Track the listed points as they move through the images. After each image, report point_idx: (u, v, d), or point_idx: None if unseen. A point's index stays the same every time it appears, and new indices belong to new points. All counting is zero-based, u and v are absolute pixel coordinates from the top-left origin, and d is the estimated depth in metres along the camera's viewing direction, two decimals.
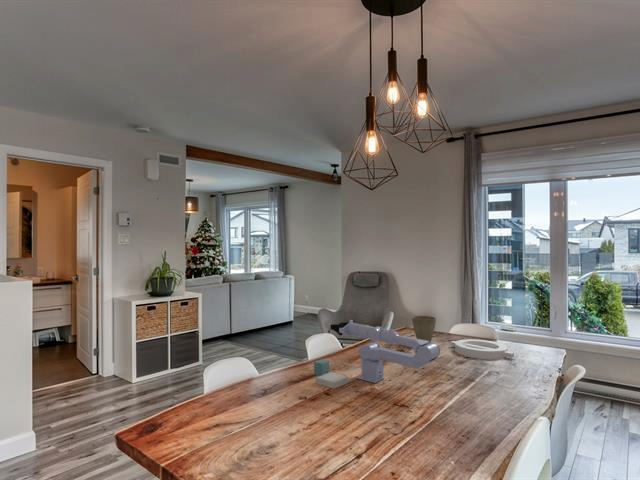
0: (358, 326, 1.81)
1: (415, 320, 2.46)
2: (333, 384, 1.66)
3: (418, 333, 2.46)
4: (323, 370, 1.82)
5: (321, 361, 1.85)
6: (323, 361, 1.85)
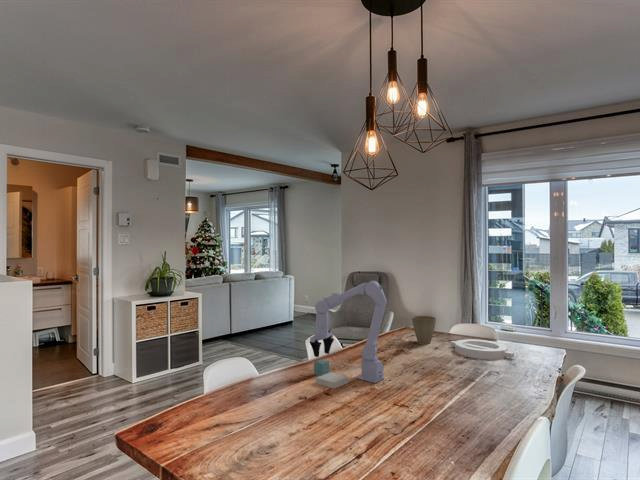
0: (316, 324, 1.83)
1: (415, 320, 2.46)
2: (333, 384, 1.66)
3: (418, 333, 2.46)
4: (323, 370, 1.82)
5: (321, 361, 1.85)
6: (323, 361, 1.85)
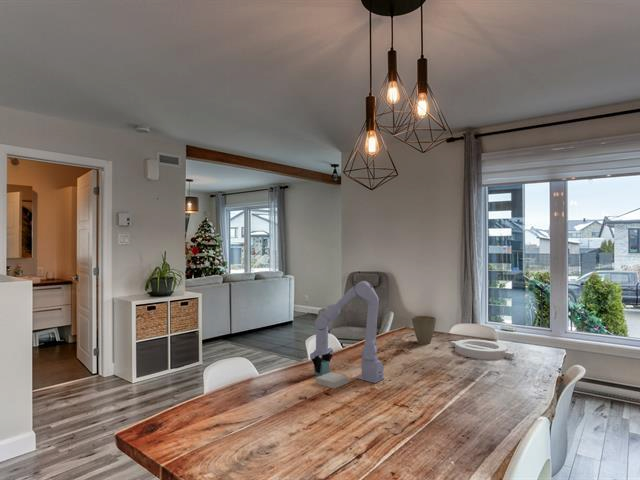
0: (316, 340, 1.83)
1: (415, 320, 2.46)
2: (333, 384, 1.66)
3: (418, 333, 2.46)
4: (323, 369, 1.82)
5: None
6: (323, 361, 1.85)
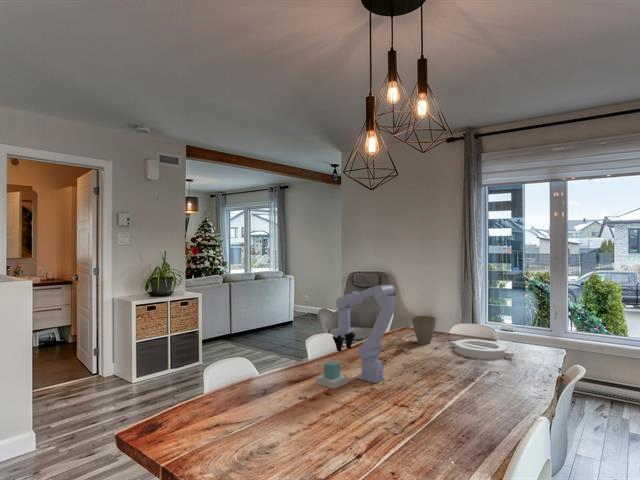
0: (338, 319, 1.92)
1: (415, 320, 2.46)
2: (333, 384, 1.66)
3: (418, 333, 2.46)
4: (334, 372, 1.70)
5: (331, 363, 1.73)
6: (334, 363, 1.73)
